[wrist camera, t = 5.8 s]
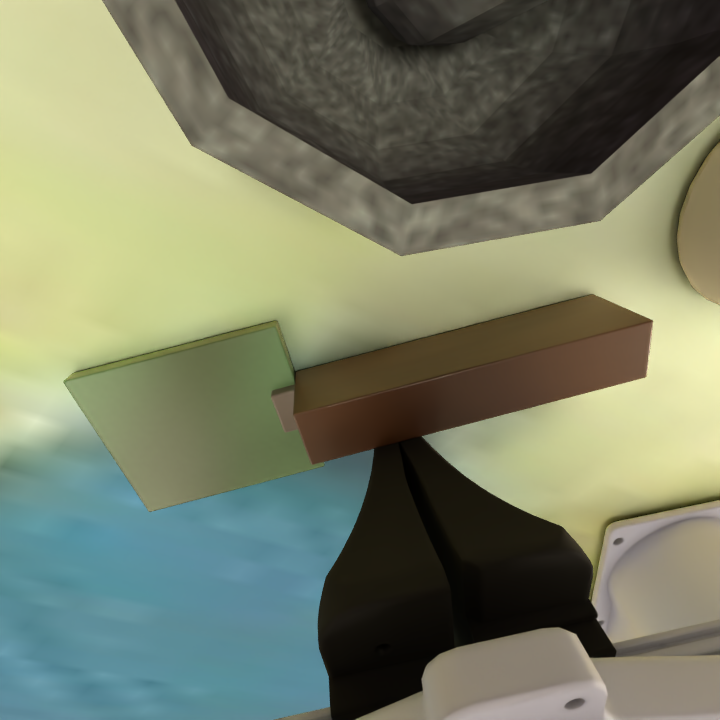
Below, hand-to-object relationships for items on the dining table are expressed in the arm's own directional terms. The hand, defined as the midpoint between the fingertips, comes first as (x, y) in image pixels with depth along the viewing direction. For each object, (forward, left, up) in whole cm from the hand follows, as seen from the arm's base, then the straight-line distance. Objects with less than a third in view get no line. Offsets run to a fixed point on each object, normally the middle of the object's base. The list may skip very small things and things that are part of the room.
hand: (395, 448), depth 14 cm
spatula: (+2, +1, -1) cm, 3 cm away
